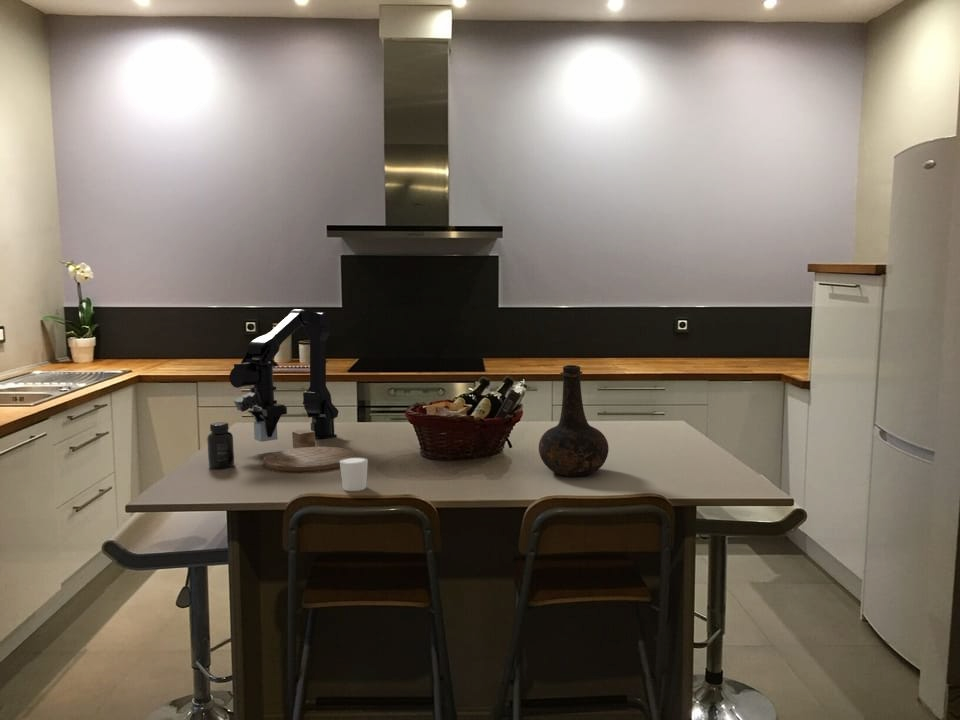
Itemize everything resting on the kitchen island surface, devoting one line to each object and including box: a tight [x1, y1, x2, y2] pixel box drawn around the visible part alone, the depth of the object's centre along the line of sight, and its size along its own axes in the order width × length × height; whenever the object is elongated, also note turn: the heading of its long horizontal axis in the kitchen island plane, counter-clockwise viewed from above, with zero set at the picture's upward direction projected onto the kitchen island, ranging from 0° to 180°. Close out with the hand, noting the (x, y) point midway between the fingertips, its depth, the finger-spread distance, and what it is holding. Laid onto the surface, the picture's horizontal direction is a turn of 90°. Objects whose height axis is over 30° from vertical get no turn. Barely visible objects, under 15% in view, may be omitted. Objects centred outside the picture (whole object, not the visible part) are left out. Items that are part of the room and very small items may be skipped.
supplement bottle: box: [206, 421, 235, 470], centre depth 232 cm, size 7×7×12 cm
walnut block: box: [291, 428, 316, 448], centre depth 255 cm, size 5×5×5 cm
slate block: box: [253, 421, 278, 443], centre depth 249 cm, size 5×5×5 cm
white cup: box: [339, 456, 369, 492], centre depth 207 cm, size 7×7×7 cm
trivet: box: [262, 446, 355, 474], centre depth 236 cm, size 25×25×2 cm
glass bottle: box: [538, 364, 610, 477], centre depth 218 cm, size 18×18×28 cm
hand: (265, 435), depth 249 cm, fingers closed on slate block, 5 cm apart
